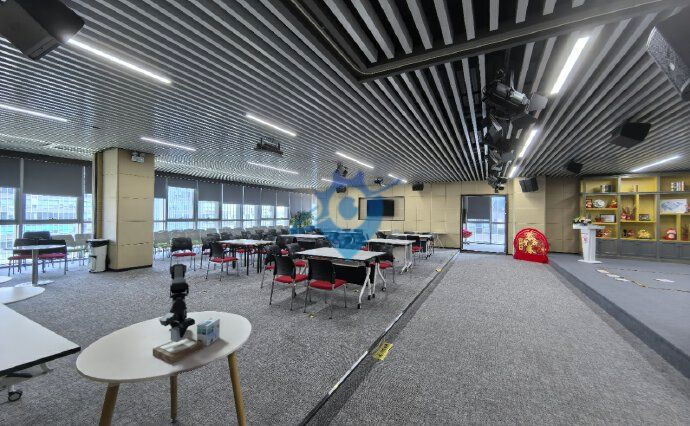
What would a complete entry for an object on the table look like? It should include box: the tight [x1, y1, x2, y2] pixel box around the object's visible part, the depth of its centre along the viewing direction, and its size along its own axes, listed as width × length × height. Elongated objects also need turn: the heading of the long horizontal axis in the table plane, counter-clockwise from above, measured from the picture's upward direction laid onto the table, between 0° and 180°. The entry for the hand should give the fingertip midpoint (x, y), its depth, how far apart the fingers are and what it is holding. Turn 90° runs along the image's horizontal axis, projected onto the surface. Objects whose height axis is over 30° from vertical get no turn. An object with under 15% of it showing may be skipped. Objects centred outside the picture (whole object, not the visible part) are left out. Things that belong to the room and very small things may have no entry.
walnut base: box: [152, 336, 204, 364], centre depth 142 cm, size 16×16×3 cm
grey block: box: [170, 327, 187, 343], centre depth 142 cm, size 5×5×6 cm
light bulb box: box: [196, 317, 221, 347], centre depth 154 cm, size 11×7×11 cm, turn 168°
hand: (178, 336), depth 142 cm, fingers closed on grey block, 5 cm apart
